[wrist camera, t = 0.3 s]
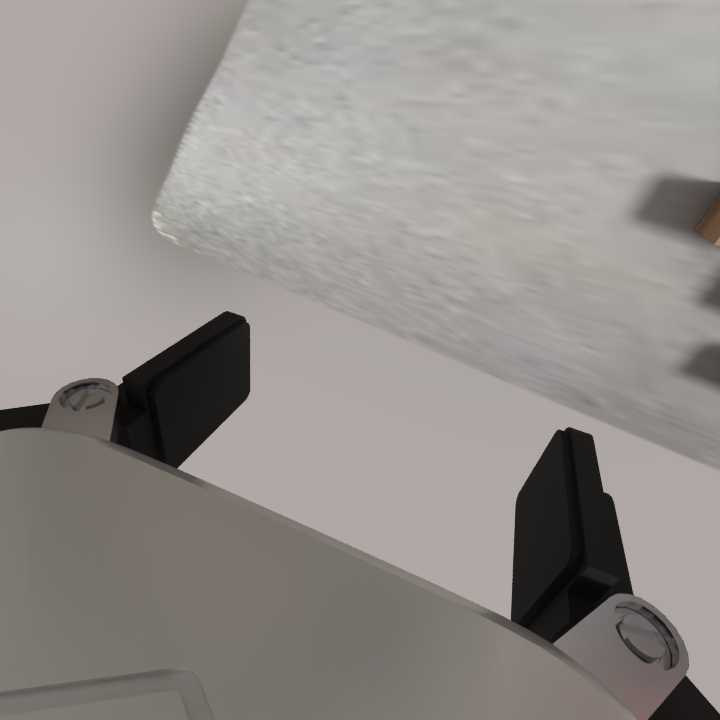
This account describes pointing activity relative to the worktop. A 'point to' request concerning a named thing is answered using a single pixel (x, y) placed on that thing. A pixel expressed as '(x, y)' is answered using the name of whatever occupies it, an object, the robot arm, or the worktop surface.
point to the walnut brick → (711, 224)
